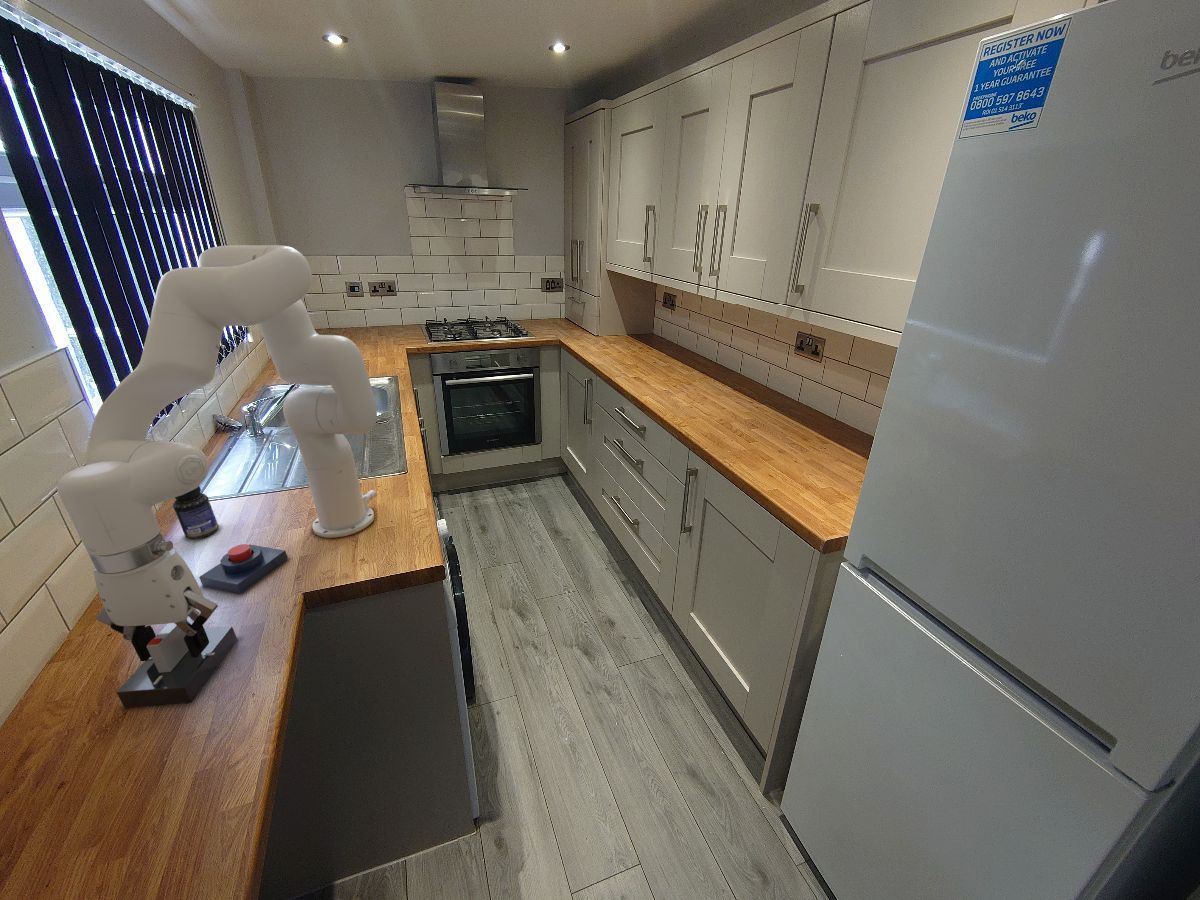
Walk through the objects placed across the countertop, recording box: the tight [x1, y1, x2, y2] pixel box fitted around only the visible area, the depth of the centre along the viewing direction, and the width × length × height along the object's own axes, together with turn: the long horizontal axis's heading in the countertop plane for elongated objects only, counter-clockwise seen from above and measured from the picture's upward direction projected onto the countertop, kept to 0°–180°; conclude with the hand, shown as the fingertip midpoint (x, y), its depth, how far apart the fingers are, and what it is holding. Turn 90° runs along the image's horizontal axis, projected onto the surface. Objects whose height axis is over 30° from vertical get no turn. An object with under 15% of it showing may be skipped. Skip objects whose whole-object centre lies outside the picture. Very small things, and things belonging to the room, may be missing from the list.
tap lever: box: [146, 618, 189, 673], centre depth 77 cm, size 6×2×5 cm, turn 5°
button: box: [227, 543, 252, 562], centre depth 100 cm, size 4×4×2 cm
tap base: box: [116, 625, 238, 709], centre depth 79 cm, size 12×10×3 cm
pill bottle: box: [172, 485, 220, 540], centre depth 113 cm, size 6×6×11 cm
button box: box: [198, 543, 289, 595], centre depth 101 cm, size 11×9×4 cm
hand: (176, 651), depth 78 cm, fingers open, 6 cm apart
